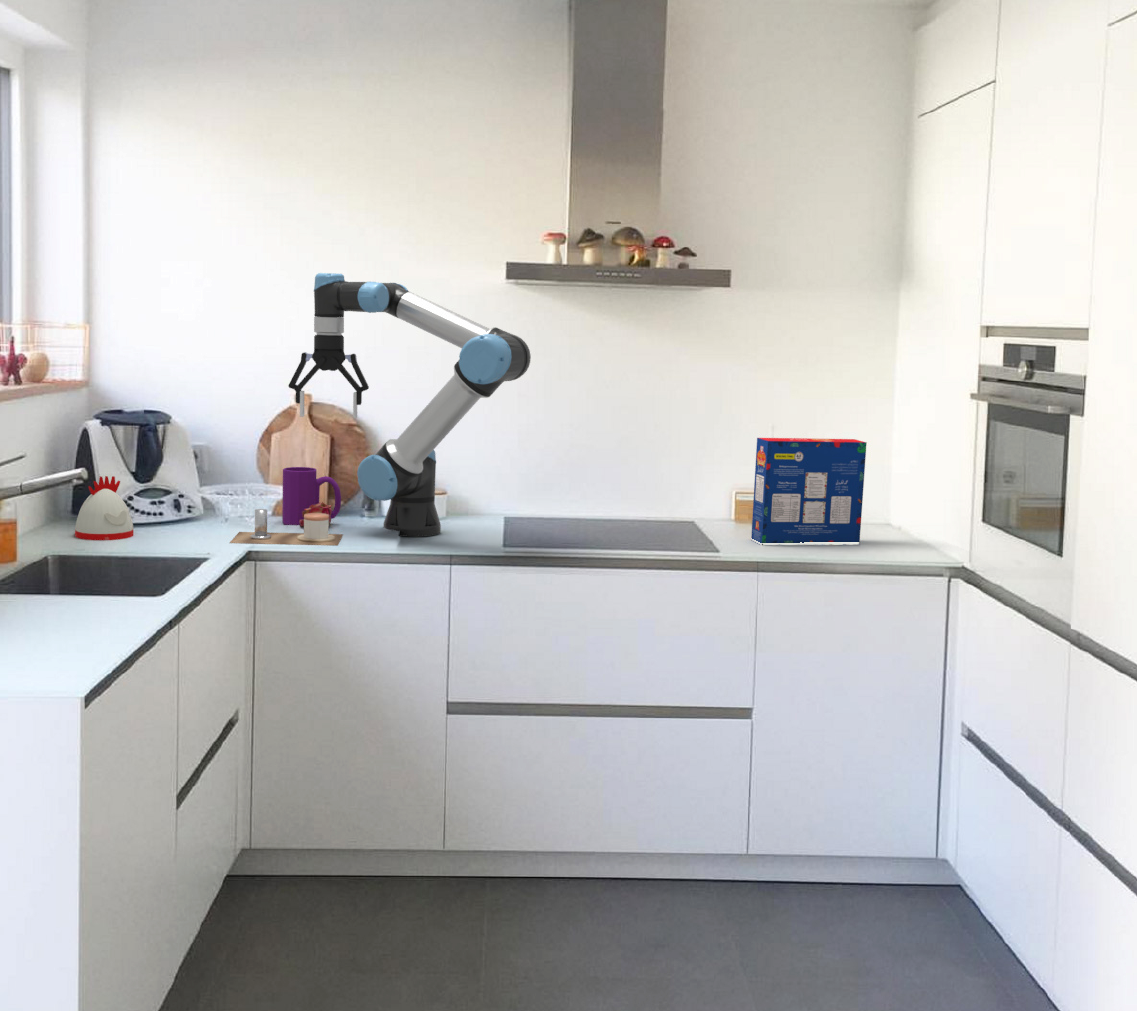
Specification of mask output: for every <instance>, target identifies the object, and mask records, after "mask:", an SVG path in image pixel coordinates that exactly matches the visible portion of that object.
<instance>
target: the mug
mask: <svg viewBox="0 0 1137 1011" xmlns="http://www.w3.org/2000/svg"><path fill="white" fill-rule="evenodd" d="M324 483H329V484H330V485H331V486H332V488H333V491H334V507H333V509H332V513H331V520H332V519H335V518H336V516H338V514H339V513H340V511H341V506H342V494H341V488H340V486H339V484H338V483H337V481H335V479H334V478H332V477H330V476H326V475H325V476H321V477H319V478H318V477H317V469H316V468H314V467H307V466H290V467H285V468H283V469H282V511H281V512H282V517H281V518H282V520H281V521H282V523H283V524H284V525H285V526H299V525H300V523H299V521H300V520H304V517H303V515H302V511H304V509H308V508H309V507H310V506H311V505H316V504H318V503H320V491H321V490H320V487H321V486H322V485H323V484H324Z"/></svg>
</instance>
